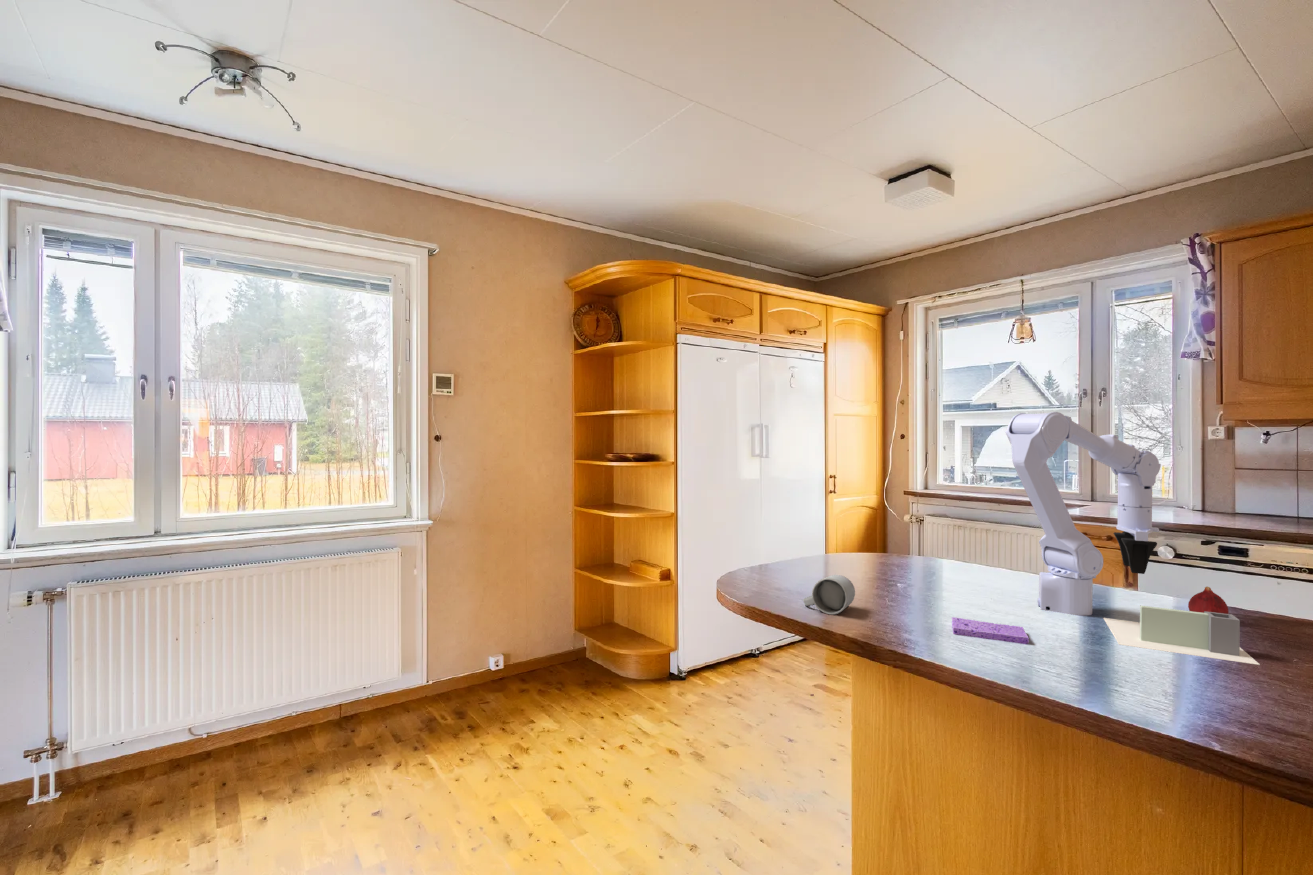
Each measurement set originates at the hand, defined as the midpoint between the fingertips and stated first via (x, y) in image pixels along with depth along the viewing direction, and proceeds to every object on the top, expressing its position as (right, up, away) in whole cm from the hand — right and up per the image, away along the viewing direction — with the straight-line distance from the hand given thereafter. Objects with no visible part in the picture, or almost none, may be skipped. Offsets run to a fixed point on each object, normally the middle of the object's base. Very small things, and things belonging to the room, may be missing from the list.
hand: (1133, 569), depth 125 cm
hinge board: (-9, -10, -20) cm, 24 cm away
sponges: (-38, -10, -13) cm, 42 cm away
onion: (+8, -10, -9) cm, 15 cm away
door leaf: (-10, -8, -23) cm, 26 cm away
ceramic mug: (-65, -10, +3) cm, 66 cm away
